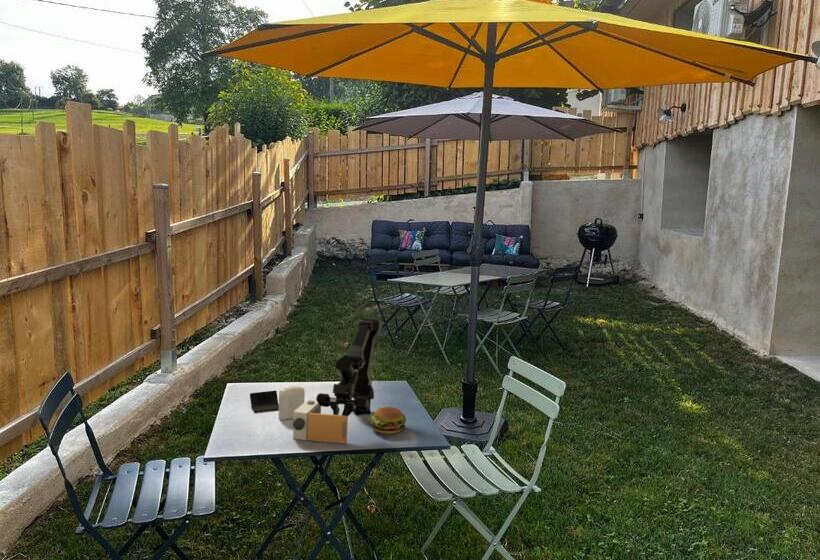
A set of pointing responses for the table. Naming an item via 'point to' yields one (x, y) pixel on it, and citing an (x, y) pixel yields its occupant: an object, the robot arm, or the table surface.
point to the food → (387, 420)
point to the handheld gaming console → (264, 401)
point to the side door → (327, 427)
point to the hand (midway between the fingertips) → (337, 423)
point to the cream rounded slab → (290, 401)
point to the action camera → (304, 418)
